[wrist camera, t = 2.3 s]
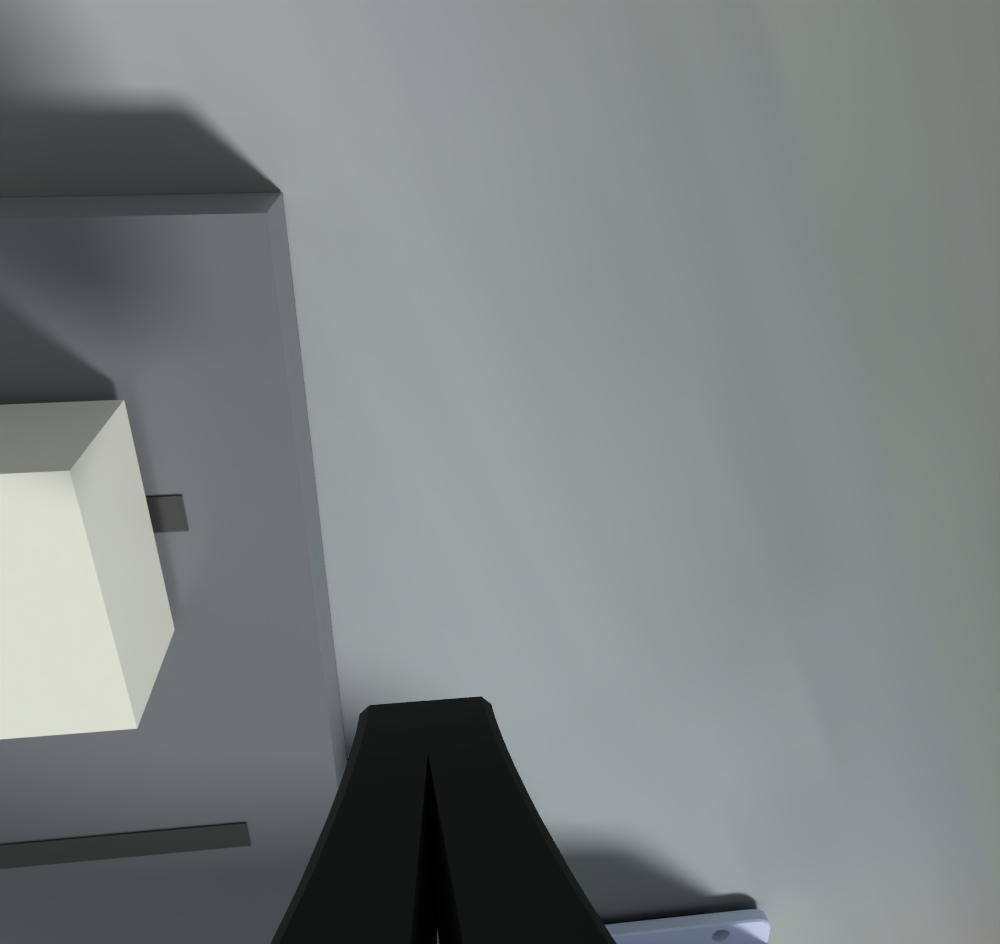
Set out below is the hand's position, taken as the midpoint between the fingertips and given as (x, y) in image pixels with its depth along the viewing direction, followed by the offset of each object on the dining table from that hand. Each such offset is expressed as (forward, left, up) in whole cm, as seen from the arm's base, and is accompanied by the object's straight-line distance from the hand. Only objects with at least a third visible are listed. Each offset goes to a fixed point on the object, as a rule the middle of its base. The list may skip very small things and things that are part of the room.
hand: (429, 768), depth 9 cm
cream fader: (+6, 0, -6) cm, 8 cm away
